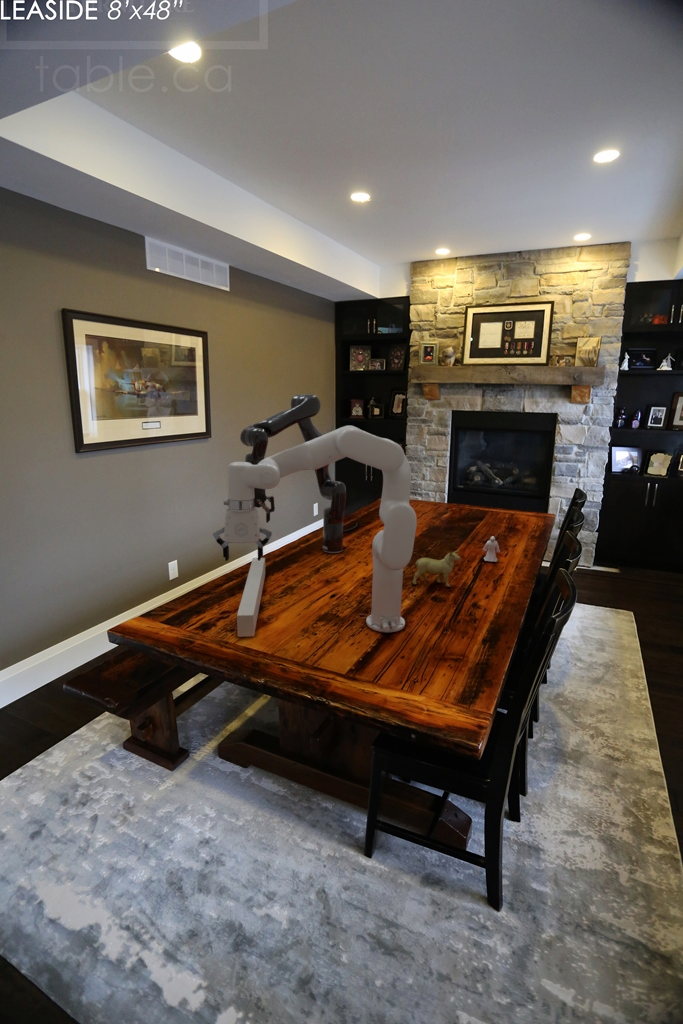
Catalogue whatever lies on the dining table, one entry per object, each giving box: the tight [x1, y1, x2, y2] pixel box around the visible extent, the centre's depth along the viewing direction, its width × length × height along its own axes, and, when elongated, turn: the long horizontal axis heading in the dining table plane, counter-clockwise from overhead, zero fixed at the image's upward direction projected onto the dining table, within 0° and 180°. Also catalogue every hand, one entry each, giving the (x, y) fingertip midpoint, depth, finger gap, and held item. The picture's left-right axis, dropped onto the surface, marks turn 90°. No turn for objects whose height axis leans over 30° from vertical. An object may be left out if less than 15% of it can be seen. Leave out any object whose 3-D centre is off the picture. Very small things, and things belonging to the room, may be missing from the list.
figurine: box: [482, 535, 501, 563], centre depth 223 cm, size 8×8×12 cm
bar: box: [236, 557, 266, 638], centre depth 177 cm, size 52×5×7 cm, turn 5°
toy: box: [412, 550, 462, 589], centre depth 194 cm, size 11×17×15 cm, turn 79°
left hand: (256, 522), depth 193 cm, fingers open, 8 cm apart
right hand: (243, 559), depth 151 cm, fingers open, 9 cm apart
